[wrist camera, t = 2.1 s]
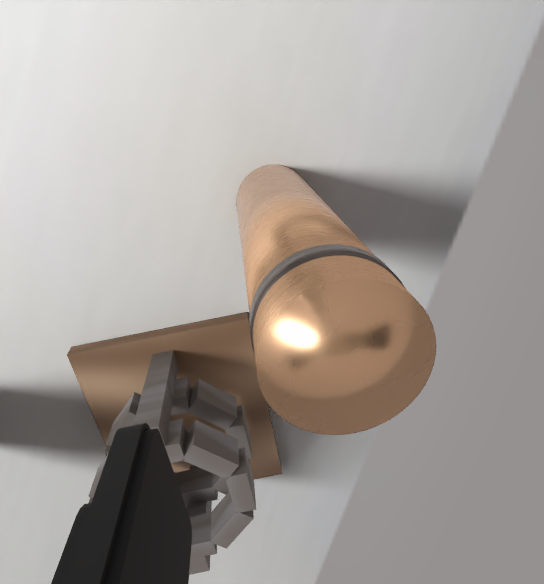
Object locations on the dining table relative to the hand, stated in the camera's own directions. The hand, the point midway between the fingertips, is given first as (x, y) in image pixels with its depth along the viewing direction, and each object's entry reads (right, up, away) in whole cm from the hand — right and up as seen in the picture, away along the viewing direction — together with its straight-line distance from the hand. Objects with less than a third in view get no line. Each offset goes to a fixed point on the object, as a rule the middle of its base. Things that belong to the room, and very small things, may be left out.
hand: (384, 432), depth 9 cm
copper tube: (-2, +8, +18) cm, 20 cm away
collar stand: (-9, -6, +24) cm, 26 cm away
